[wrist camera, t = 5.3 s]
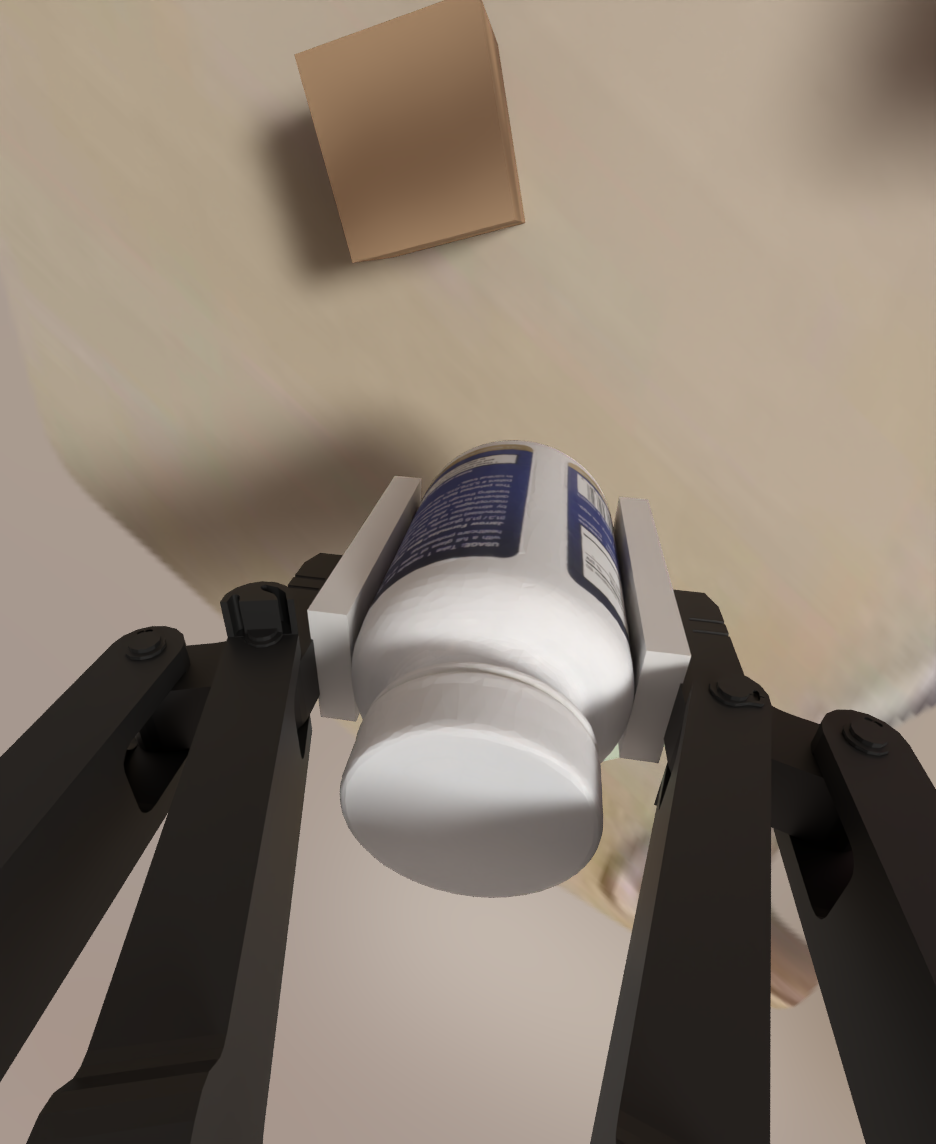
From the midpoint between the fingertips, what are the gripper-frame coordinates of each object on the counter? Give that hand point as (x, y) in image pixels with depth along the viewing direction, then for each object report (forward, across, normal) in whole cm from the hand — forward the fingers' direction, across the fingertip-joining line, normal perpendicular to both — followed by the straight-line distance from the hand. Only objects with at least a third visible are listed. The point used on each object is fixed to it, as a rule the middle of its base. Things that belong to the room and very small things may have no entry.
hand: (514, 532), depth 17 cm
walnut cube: (+10, -4, +9) cm, 14 cm away
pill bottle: (+1, 0, 0) cm, 1 cm away
